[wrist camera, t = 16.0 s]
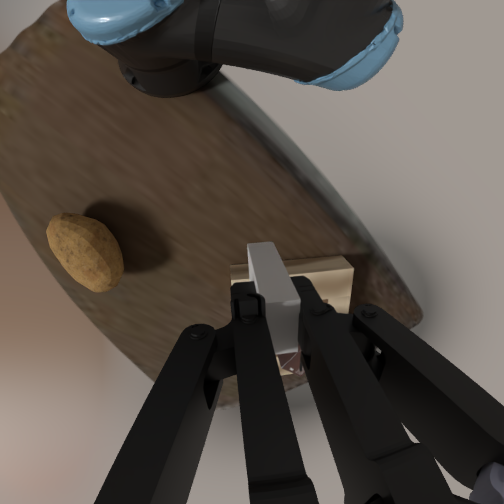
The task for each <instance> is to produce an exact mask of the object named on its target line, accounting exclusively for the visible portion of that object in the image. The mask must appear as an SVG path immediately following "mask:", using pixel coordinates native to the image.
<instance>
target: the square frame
mask: <svg viewBox="0 0 504 504" xmlns="http://www.w3.org/2000/svg"><path fill="white" fill-rule="evenodd" d="M282 262H283V264H284V266H285V268H286V270H287V272H288V274H289V276H290V277H293V276H302V275H303V276H305V277H307V278H308V279H310V280H311V282H312V284H313V286H314V287H315V289H316V290H317V292H318V294H319V295H320V297H321V299H322V301H323V302H325V303H328V304H330V305H332V306H333V307H334V308H335V310H336V312H338V313H345V314H348V311H349V304H350V297H351V289H352V281H353V272H354V268H353V267H352V266H351V265H350V263H349V262H348V261H347V260H346V259H345V258H344V257H343V256H342V255H339V256H328V257H317V258H306V259H295V260H284V261H282ZM230 271H231V284H232V285H233V284H234V283H236V282H247V281H250V280H249V264H238V265H230ZM276 359H277V363H278V367H279V371H280V374H281V375H286V374H293V373H291V372H289V371H287V370H284V369H282V368H281V366H280V362H279V359H278V356H277V354H276Z"/></svg>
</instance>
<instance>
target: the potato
mask: <svg viewBox="0 0 504 504" xmlns="http://www.w3.org/2000/svg"><path fill="white" fill-rule="evenodd" d="M46 232H47V237H48V241H49V245H50V248H51V249H52V251H53V252H54V254H55V256H56V257H57V259H58V260H59V261H60V263H61V264H62V266H63V267H64V268H65V269H66V270H67V272H68V273H69V274H70V275H71V276H72V277H73V278H74V279H75V280H76V281H77V282H79V283H81V284H82V285H84V286H85V287H87V288H88V289H90V290H92V291H94V292H107V291H109V290H110V289H112V288H114V287H116V286H117V285H118V283H119V281H120V278H121V276H122V274H123V271H124V264H123V258H122V252H121V250H120V247H119V245H118V242H117V240H116V239H115V238H114V236H113V235H112V233H111V232H110V231H109V229H108V228H107V227H106V226H105V225H104V224H103V223H101V222H99V221H98V220H96V219H92V218H89V217H85V216H82V215H79V214H72V213H61V214H58V215H55V216H53V217H52V219H51V221H50V223H49V226H48V228H47V230H46Z"/></svg>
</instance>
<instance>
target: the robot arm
mask: <svg viewBox="0 0 504 504" xmlns="http://www.w3.org/2000/svg"><path fill="white" fill-rule="evenodd" d="M67 13H68V17H69V19H70V21H71V23H72V24H73V26H74V27H75V28H76V29H77V30H78V31H79V32H80V33H81V34H82V36H83V37H84V38H85V39H86V40H87V41H90V42H91V43H94V44H97V45H98V46H100V47H101V48H103V49H104V50H105V51H107V52H108V53H110V54H111V55H113V56H114V57H116V58H117V59H118V63H119V67H120V70H121V73H122V74H123V76H124V78H125V79H126V80H127V81H128V83H129V84H131V85H132V86H133V87H134V88H136V89H138V90H139V91H141V92H143V93H145V94H147V95H150V96H154V97H161V98H171V97H178V96H183V95H186V94H189V93H191V92H194V91H196V90H198V89H199V88H201V87H203V86H204V85H205V84H207V83H208V82H209V81H210V80H211V79H212V78H213V77H214V76H215V75H216V74H217V73H218V71H219V70H220V68H221V67H222V65H223V64H225V65H230V66H236V67H242V68H246V69H252V70H256V71H261V72H265V73H270V74H274V75H278V76H282V77H286V78H289V79H293V80H294V81H295V82H297V83H300V84H304V85H316V86H319V87H323V88H326V89H329V90H334V91H342V90H350V89H354V88H356V87H358V86H360V85H362V84H364V83H365V82H367V81H368V80H370V79H371V78H372V77H373V76H374V75H376V74H377V73H378V72H379V70H381V68H382V67H383V66H384V65H385V64H386V62H387V61H388V60H389V58H390V57H391V55H392V54H393V52H394V50H395V48H396V46H397V44H398V42H399V38H398V36H397V34H398V33H400V32H401V31H402V29H403V15H402V11H401V9H400V7H399V6H398V5H397V4H396V2H395V1H394V0H67ZM247 246H248V263H249V280H250V281H247V282H236V283H234V284H233V285H232V286H231V288H230V290H231V302H230V303H231V313H232V320H231V322H230V323H229V324H228V325H226V326H225V327H222V328H220V329H217V330H214V328H213V327H211V326H210V325H207V324H195V325H191V326H189V327H187V328H185V329H184V331H183V332H182V333H181V335H180V337H179V339H178V340H177V342H176V344H175V346H174V348H173V350H172V351H171V353H170V355H169V357H168V359H167V361H166V363H165V365H164V366H163V368H162V370H161V372H160V374H159V376H158V378H157V380H156V381H155V383H154V385H153V387H152V389H151V391H150V393H149V395H148V397H147V399H146V400H145V402H144V404H143V406H142V409H141V410H140V412H139V414H138V416H137V418H136V420H135V422H134V424H133V426H132V428H131V430H130V431H129V433H128V435H127V437H126V439H125V441H124V444H123V445H122V447H121V449H120V451H119V453H118V455H117V457H116V459H115V461H114V464H113V465H112V467H111V469H110V471H109V473H108V475H107V477H106V479H105V482H104V484H103V486H102V488H101V490H100V492H99V494H98V496H97V498H96V500H95V502H94V504H186V503H187V499H188V496H189V493H190V490H191V486H192V483H193V480H194V477H195V474H196V470H197V467H198V464H199V461H200V457H201V454H202V451H203V447H204V444H205V441H206V437H207V434H208V431H209V427H210V424H211V421H212V417H213V414H214V411H215V408H216V404H217V401H218V398H219V394H220V391H221V388H222V384H223V379H224V378H227V377H230V376H233V375H236V374H237V382H238V392H239V403H240V413H241V422H242V432H243V441H244V451H245V459H246V467H247V476H248V485H249V486H248V487H249V498H250V504H319V502H318V498H317V495H316V491H315V488H314V485H313V482H312V481H311V479H310V478H309V477H308V476H307V474H306V472H305V468H304V464H303V461H302V456H301V452H300V448H299V445H298V441H297V437H296V433H295V429H294V425H293V422H292V418H291V414H290V410H289V406H288V402H287V398H286V394H285V390H284V386H283V382H282V378H281V374H280V371H279V367H278V363H277V359H276V354H284V353H291V352H298V343H299V345H300V348H301V355H300V368H299V369H300V371H302V367H303V368H304V371H305V374H306V377H307V380H308V383H309V385H310V388H311V391H312V394H313V397H314V400H315V403H316V406H317V409H318V412H319V415H320V418H321V421H322V424H323V427H324V430H325V433H326V436H327V439H328V442H329V445H330V448H331V451H332V454H333V457H334V460H335V463H336V466H337V469H338V472H339V475H340V479H341V482H342V485H343V488H344V493H345V497H344V504H504V406H503V405H502V404H501V403H499V402H498V401H497V400H496V399H495V398H493V397H492V396H491V395H490V394H489V393H487V392H486V391H485V390H484V389H483V388H482V387H480V386H479V385H478V384H477V383H476V382H474V381H473V380H472V379H471V378H469V377H468V376H467V375H466V374H465V373H463V372H462V371H461V370H460V369H458V368H457V367H456V366H455V365H454V364H452V363H451V362H450V361H449V360H447V359H446V358H445V357H444V356H442V355H441V354H440V353H438V352H437V351H436V350H435V349H433V348H432V347H431V346H430V345H428V344H427V343H426V342H425V341H423V340H422V339H420V338H419V337H418V336H417V335H415V334H414V333H413V332H412V331H410V330H409V329H408V328H407V327H405V326H404V325H403V324H401V323H400V322H399V321H397V320H396V319H395V318H393V317H392V316H391V315H390V314H388V313H387V312H386V311H384V310H383V309H382V308H380V307H378V306H376V305H372V304H362V305H359V306H357V307H356V308H355V309H354V314H345V313H338V312H336V310H335V308H334V307H333V306H332V305H330V304H328V303H325V302H323V301H322V299H321V297H320V295H319V294H318V292H317V290H316V289H315V287H314V286H313V284H312V282H311V280H310V279H308V278H307V277H305V276H303V275H302V276H293V277H290V276H289V274H288V272H287V270H286V268H285V266H284V264H283V262H282V260H281V258H280V256H279V254H278V251H277V249H276V247H275V245H274V243H273V242H261V243H249V244H247ZM377 347H378V348H379V349H380V350H381V354H380V353H378V352H377V351H376V348H377ZM402 423H403V425H404V426H405V427H406V428H407V429H408V430H409V431H410V432H411V433H412V434H413V435H414V436H415V437H416V439H417V440H418V441H419V442H420V443H414V442H412V441H411V440H410V438H409V436H408V434H407V433H406V431H405V429H404V427H403V425H402ZM434 458H435V459H436V460H437V461H438V462H439V463H440V464H441V466H443V468H444V469H445V470H446V471H447V472H448V473H449V474H450V475H451V476H452V477H453V478H455V479H456V480H457V481H458V482H460V483H461V484H463V485H464V486H466V487H468V488H470V489H472V490H473V491H472V492H471V494H470V496H469V500H468V499H465V498H462V497H460V496H457V495H454V494H452V492H451V490H450V488H449V486H448V484H447V482H446V480H445V478H444V476H443V474H442V472H441V470H440V469H439V467H438V465H437V463H436V461H435V459H434Z"/></svg>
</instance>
